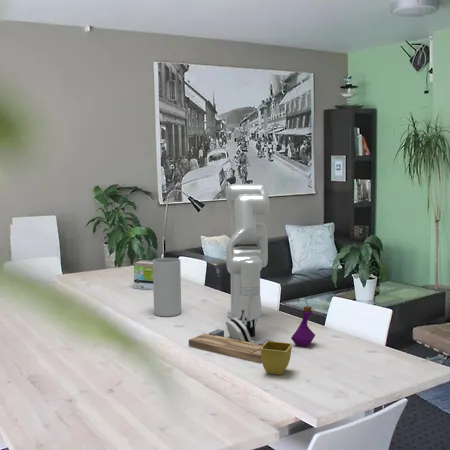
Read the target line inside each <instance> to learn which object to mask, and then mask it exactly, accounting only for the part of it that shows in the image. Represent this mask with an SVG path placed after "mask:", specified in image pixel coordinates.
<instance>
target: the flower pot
mask: <svg viewBox="0 0 450 450" xmlns="http://www.w3.org/2000/svg"><path fill="white" fill-rule="evenodd" d="M273 341H274V340H273ZM273 341H267V342H266V343H265V344H264V345H263V346H262V347H261V357H262V362H261V363H262V366H263V369H264V371H265V372H266V374H271V375H277V376H279V375H280V376H282V375H283V374H284V373H285V371H286V369H287V367H288V366H289V364H290V360H291V356H292V355H291V354H292V347H293V343H290V342H283V341H282V342H281V341H274V342H273Z"/></svg>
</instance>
